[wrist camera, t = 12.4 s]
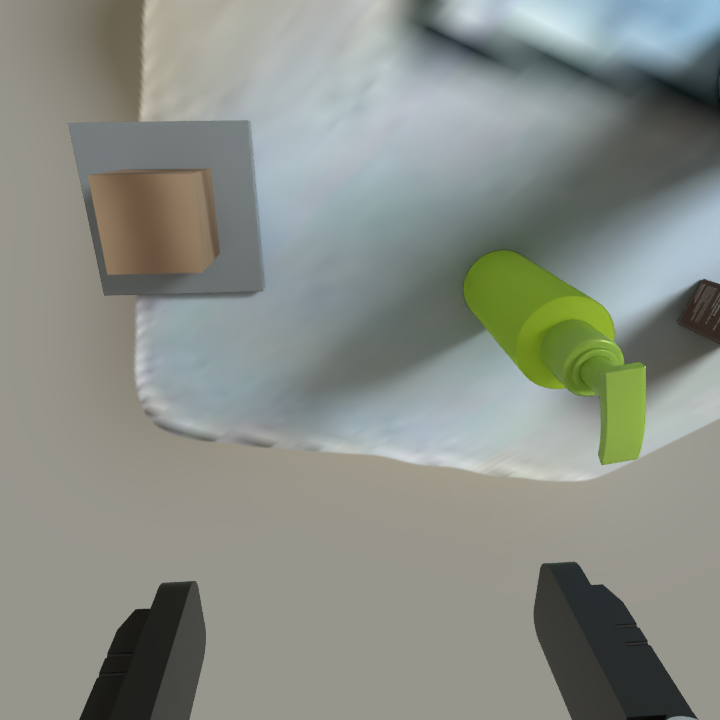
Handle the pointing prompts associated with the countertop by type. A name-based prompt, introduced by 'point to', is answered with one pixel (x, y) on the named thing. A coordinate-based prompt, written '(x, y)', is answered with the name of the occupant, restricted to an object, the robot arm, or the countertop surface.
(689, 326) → the box
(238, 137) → the slate tile
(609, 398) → the soap dispenser
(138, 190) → the walnut cube
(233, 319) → the countertop surface
